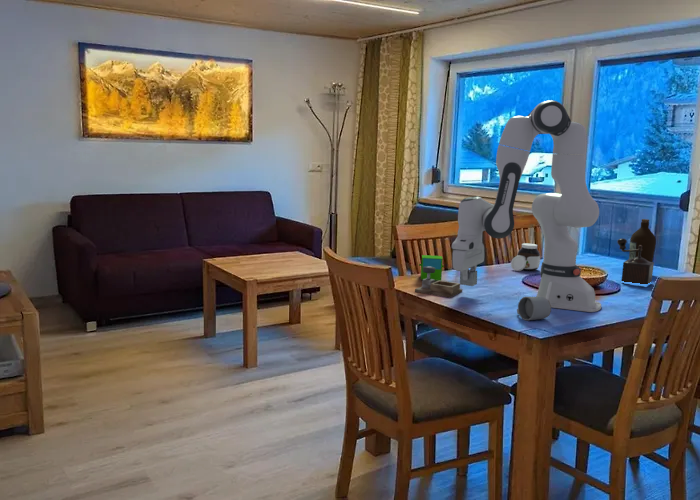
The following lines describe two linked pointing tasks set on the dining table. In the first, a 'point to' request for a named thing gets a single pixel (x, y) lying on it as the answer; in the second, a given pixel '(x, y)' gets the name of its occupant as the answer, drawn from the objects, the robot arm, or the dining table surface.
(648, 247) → the olive oil
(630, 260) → the manual coffee grinder
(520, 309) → the ceramic mug
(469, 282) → the engine block
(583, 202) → the robot arm
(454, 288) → the chassis
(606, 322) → the dining table surface
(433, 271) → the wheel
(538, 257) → the spread jar
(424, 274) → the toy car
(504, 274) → the dining table surface
